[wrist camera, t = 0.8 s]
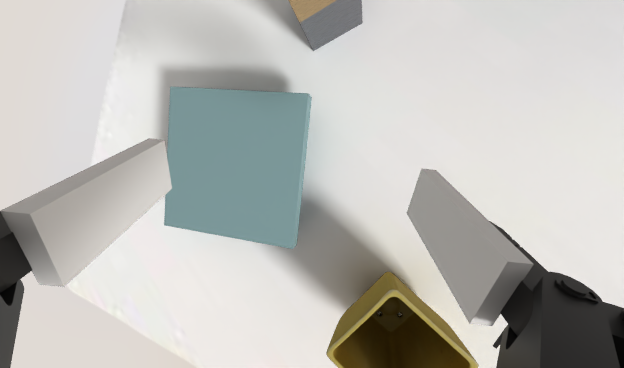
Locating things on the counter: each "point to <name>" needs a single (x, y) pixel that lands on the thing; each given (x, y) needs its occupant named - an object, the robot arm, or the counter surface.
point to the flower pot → (395, 332)
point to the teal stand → (237, 163)
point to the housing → (326, 18)
